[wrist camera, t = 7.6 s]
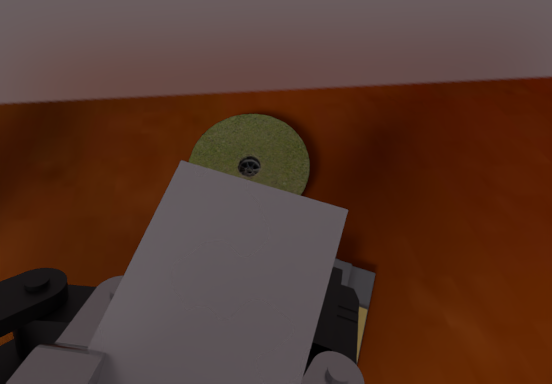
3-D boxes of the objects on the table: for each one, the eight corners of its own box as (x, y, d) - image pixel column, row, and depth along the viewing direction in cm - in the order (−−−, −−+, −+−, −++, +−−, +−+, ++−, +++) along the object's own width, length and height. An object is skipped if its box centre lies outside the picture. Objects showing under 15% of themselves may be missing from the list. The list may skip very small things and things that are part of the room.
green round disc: (187, 229, 29) (180, 224, 28) (199, 125, 34) (193, 114, 32) (310, 230, 29) (311, 224, 27) (307, 123, 33) (308, 112, 31)
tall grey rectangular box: (196, 372, 15) (33, 458, 5) (242, 249, 17) (181, 160, 8) (278, 406, 14) (250, 568, 5) (316, 274, 16) (348, 209, 7)
